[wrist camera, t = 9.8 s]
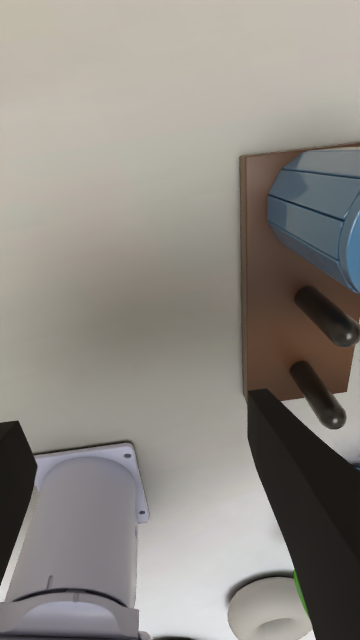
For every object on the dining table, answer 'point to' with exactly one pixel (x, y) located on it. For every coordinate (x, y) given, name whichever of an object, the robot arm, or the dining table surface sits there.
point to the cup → (321, 211)
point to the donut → (268, 611)
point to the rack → (291, 306)
